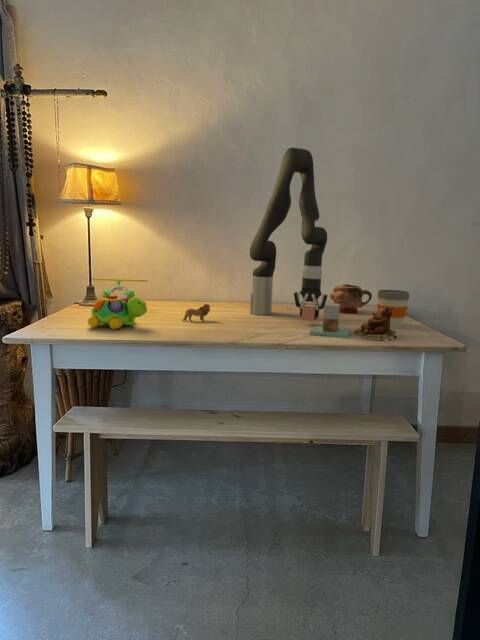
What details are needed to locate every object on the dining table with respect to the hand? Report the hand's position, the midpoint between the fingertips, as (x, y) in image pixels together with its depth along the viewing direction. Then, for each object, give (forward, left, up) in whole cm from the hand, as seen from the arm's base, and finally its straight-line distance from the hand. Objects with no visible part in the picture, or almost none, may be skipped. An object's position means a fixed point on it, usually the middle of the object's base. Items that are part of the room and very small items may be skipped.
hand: (309, 317), depth 199 cm
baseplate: (+10, -11, -3) cm, 16 cm away
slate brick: (+10, -11, +3) cm, 16 cm away
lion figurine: (-46, -11, -4) cm, 47 cm away
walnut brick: (+10, -11, -2) cm, 15 cm away
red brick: (0, 0, -1) cm, 1 cm away
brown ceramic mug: (+13, +38, -4) cm, 41 cm away
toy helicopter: (-88, 0, -4) cm, 89 cm away
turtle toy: (-70, -32, -4) cm, 77 cm away
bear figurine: (+27, -9, -4) cm, 29 cm away
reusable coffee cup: (+32, +13, -4) cm, 35 cm away
